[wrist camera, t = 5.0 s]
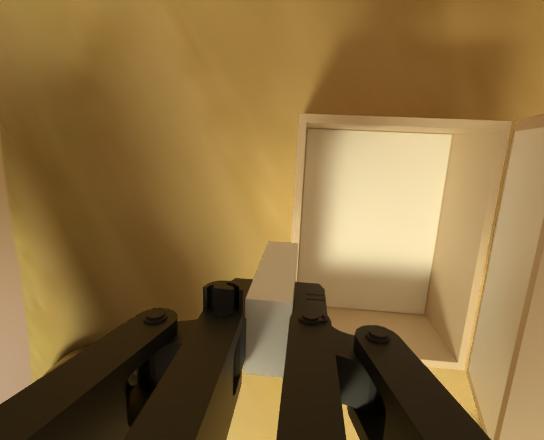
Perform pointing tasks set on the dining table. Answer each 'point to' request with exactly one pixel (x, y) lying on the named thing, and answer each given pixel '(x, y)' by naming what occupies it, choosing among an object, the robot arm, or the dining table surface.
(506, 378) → the lid
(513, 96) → the dining table surface
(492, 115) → the dining table surface
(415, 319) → the box
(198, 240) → the dining table surface
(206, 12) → the dining table surface
